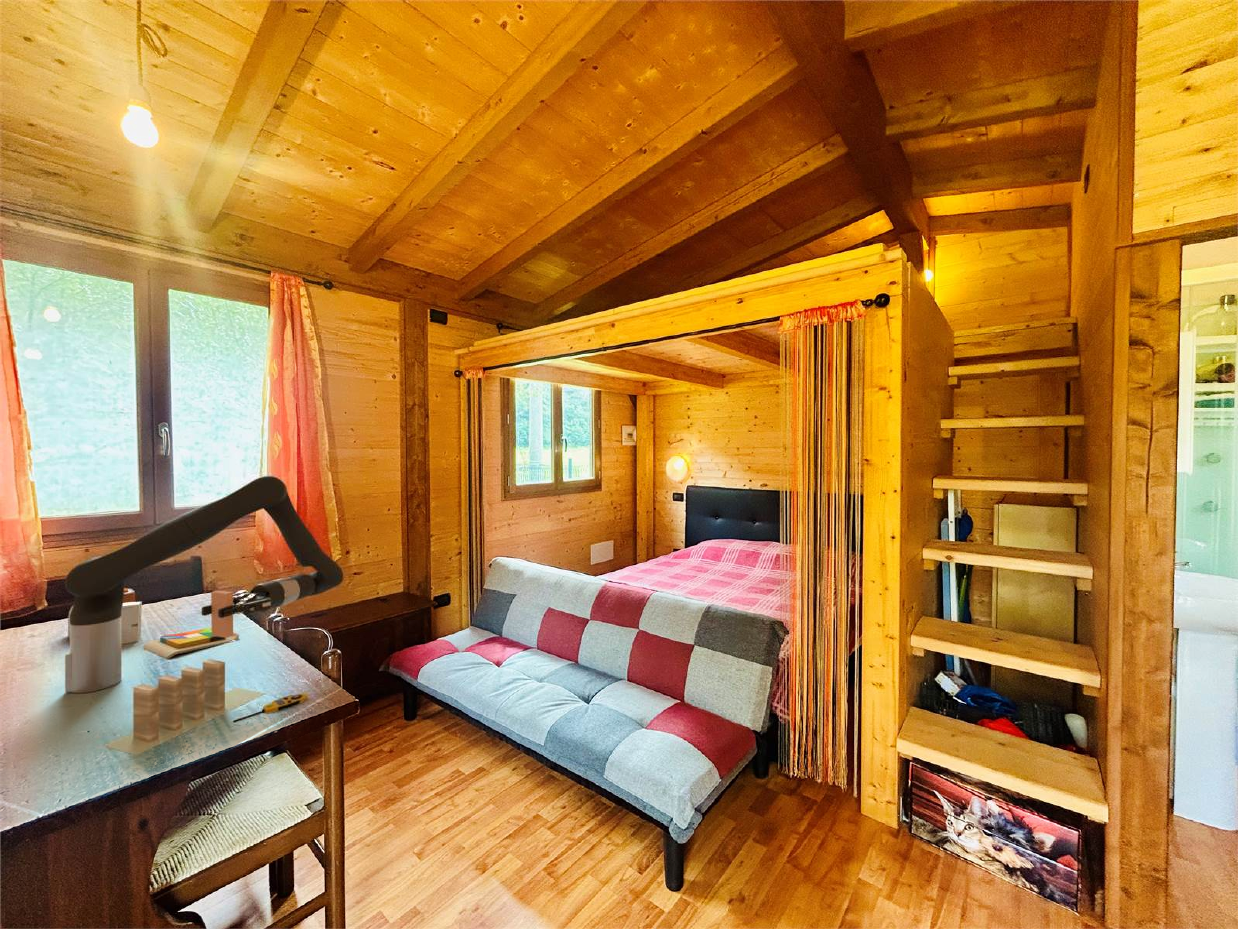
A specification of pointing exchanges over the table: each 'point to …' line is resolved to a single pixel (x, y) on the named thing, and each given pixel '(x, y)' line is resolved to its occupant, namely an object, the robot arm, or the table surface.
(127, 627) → the skincare box
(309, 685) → the table surface
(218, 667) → the domino
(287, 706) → the yellow screwdriver
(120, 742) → the mat
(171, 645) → the wooden puzzle
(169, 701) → the domino
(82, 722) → the table surface
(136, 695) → the domino
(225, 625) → the domino
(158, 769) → the table surface
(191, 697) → the domino
